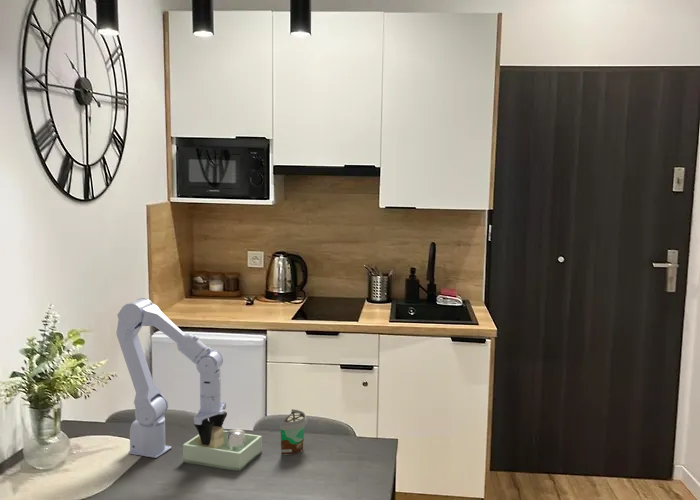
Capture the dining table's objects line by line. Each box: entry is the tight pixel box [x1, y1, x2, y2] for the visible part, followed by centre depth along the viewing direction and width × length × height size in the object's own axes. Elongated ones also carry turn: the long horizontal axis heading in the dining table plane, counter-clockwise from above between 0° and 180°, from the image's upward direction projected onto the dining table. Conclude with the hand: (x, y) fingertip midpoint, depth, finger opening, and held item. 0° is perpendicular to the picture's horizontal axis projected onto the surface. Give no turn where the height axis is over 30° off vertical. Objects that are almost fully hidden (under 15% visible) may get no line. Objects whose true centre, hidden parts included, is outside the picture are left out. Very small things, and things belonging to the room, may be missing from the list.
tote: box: [182, 429, 263, 472], centre depth 196 cm, size 18×14×5 cm
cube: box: [199, 426, 224, 449], centre depth 197 cm, size 5×5×5 cm
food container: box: [279, 408, 308, 455], centre depth 203 cm, size 12×6×10 cm, turn 168°
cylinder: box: [227, 428, 246, 452], centre depth 195 cm, size 5×5×7 cm
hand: (210, 440), depth 197 cm, fingers closed on cube, 5 cm apart
